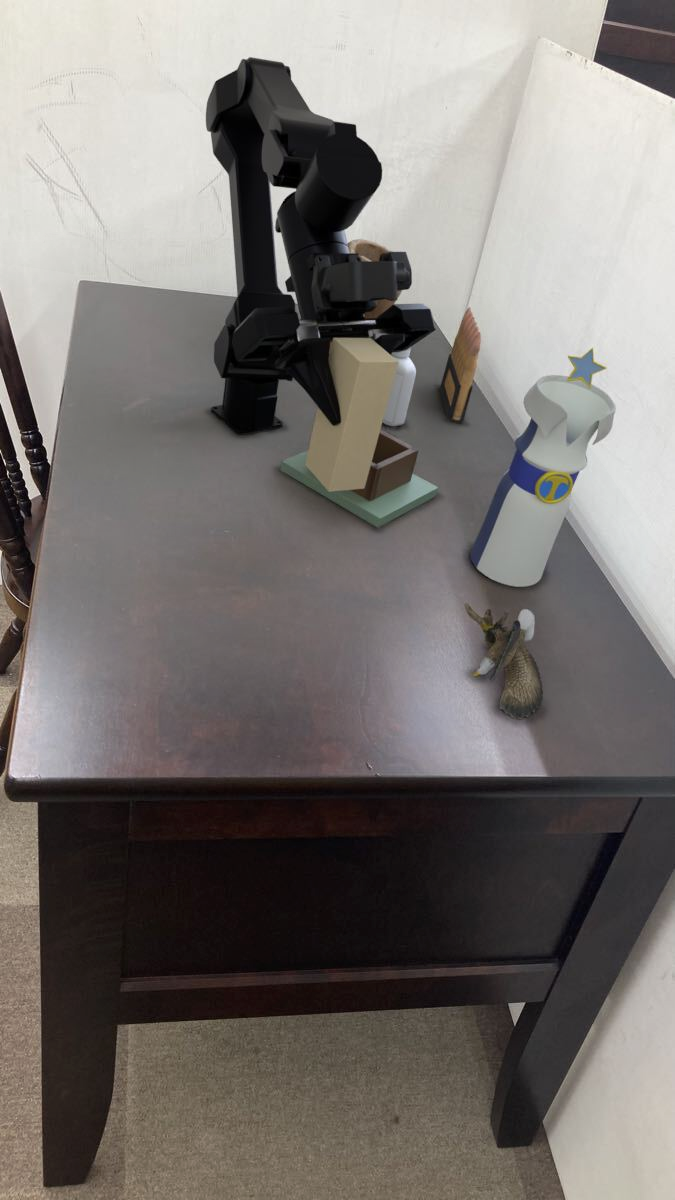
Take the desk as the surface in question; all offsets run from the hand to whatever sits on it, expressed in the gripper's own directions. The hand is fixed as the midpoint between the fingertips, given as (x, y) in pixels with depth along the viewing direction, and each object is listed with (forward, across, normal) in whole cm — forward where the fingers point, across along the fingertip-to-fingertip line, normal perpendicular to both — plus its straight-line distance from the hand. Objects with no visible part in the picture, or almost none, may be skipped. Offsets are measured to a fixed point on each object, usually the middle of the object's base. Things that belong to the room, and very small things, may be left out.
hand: (357, 422), depth 81 cm
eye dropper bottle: (-7, +22, +26) cm, 34 cm away
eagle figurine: (+25, +4, -6) cm, 26 cm away
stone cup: (-21, +28, +41) cm, 54 cm away
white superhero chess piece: (+16, +16, +3) cm, 23 cm away
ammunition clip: (-8, +33, +27) cm, 44 cm away
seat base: (+3, +9, +16) cm, 19 cm away
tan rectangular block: (+4, 0, +6) cm, 7 cm away
